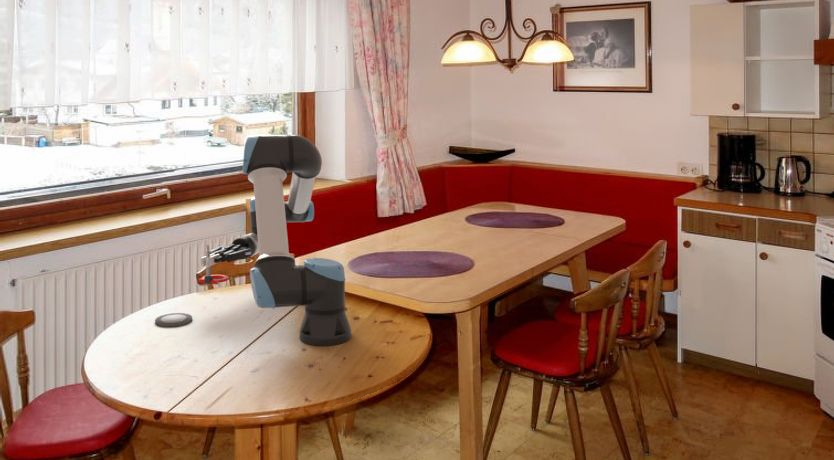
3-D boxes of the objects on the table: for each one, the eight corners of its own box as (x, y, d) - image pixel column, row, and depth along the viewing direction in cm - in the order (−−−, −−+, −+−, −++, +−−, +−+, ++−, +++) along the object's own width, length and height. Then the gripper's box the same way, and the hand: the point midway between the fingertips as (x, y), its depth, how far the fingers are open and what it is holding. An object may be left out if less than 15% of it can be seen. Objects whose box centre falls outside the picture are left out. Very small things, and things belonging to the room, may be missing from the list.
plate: (185, 327, 226) (185, 324, 226) (149, 326, 226) (149, 324, 226) (196, 315, 237) (196, 312, 236) (162, 315, 237) (162, 312, 236)
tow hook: (210, 277, 244) (195, 283, 235) (209, 238, 242) (194, 243, 233) (233, 279, 242) (219, 285, 233) (232, 240, 240) (218, 245, 231)
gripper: (264, 259, 252) (223, 276, 230) (229, 255, 257) (186, 271, 235) (264, 237, 250) (222, 252, 229) (228, 233, 255) (184, 248, 234)
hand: (204, 262), depth 232 cm, fingers closed on tow hook
